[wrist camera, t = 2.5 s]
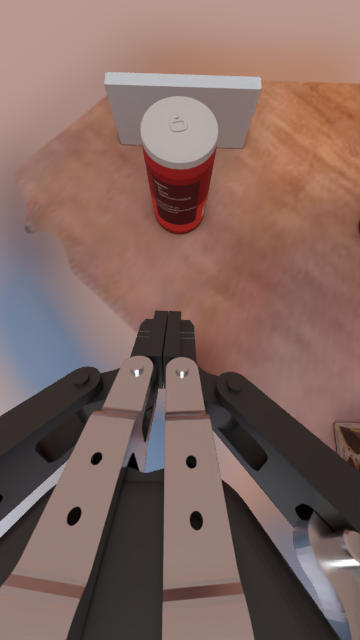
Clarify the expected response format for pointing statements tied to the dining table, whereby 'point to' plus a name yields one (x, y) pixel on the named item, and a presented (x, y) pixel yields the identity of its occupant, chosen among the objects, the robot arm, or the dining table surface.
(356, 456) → the coffee box
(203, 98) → the stop board
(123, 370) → the robot arm
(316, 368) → the dining table surface
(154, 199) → the canned food
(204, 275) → the dining table surface
